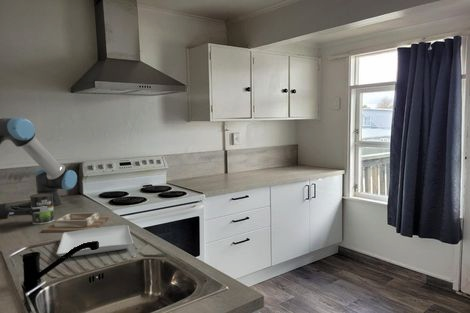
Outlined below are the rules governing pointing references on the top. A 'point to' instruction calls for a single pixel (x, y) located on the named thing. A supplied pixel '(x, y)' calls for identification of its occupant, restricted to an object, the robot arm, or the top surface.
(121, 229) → the square plate
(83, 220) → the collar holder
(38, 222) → the coffee can
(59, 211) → the top surface
